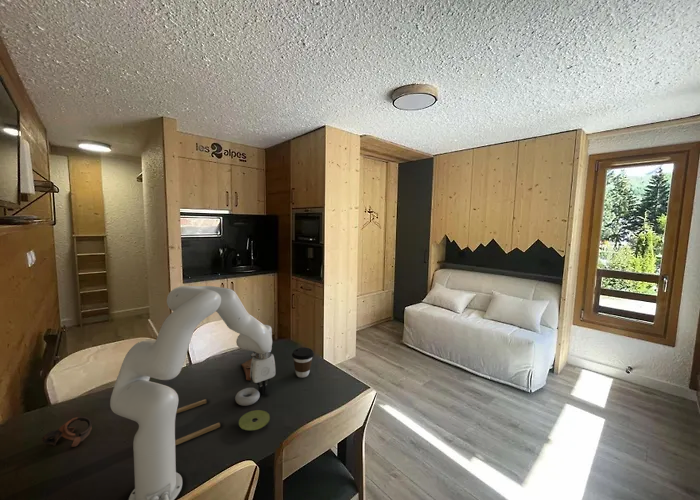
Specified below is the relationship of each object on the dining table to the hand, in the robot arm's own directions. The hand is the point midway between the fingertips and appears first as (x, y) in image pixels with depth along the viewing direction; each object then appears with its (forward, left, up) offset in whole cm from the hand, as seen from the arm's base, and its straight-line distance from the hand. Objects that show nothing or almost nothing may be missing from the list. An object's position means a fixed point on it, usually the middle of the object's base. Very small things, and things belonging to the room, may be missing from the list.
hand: (262, 392), depth 129 cm
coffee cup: (+4, -23, -1) cm, 23 cm away
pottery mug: (+14, +63, -1) cm, 64 cm away
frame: (0, +29, -1) cm, 29 cm away
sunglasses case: (+22, -4, -1) cm, 22 cm away
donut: (0, +7, -1) cm, 7 cm away
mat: (-16, +10, -1) cm, 19 cm away
